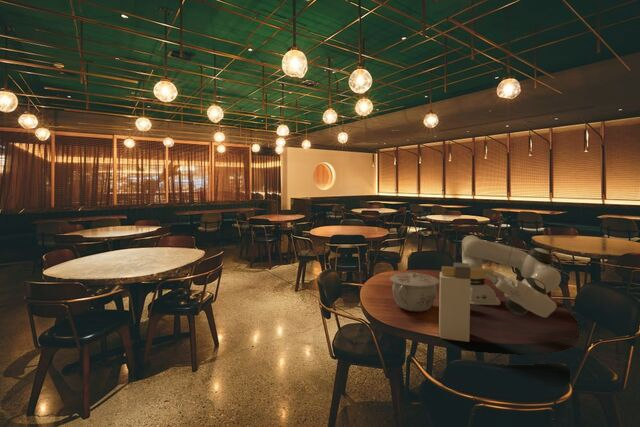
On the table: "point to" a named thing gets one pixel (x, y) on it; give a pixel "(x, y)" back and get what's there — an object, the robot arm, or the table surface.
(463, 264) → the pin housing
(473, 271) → the wooden rectangular plunger
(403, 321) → the table surface
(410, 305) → the chamber pot
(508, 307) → the robot arm
